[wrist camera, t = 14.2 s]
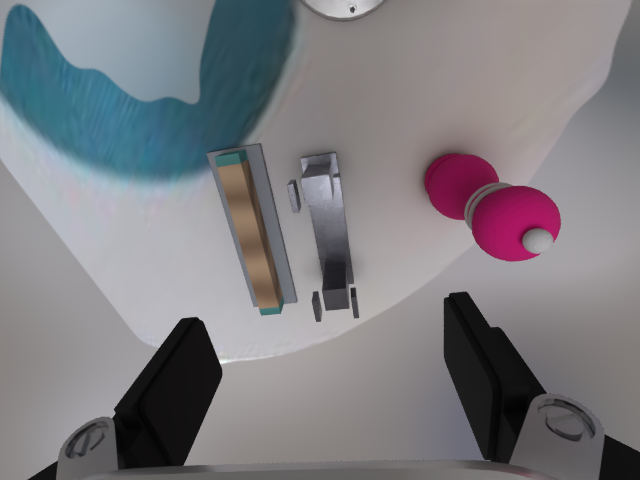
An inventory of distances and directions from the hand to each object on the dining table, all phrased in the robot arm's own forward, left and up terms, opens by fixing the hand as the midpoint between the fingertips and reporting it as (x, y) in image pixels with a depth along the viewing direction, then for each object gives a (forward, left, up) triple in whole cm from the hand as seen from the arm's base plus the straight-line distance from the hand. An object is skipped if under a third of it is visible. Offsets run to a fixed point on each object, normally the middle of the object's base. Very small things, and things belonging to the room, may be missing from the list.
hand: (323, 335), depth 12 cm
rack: (+7, -2, -30) cm, 31 cm away
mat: (+7, -12, -30) cm, 33 cm away
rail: (+7, -12, -30) cm, 33 cm away
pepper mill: (+3, +14, -31) cm, 34 cm away
